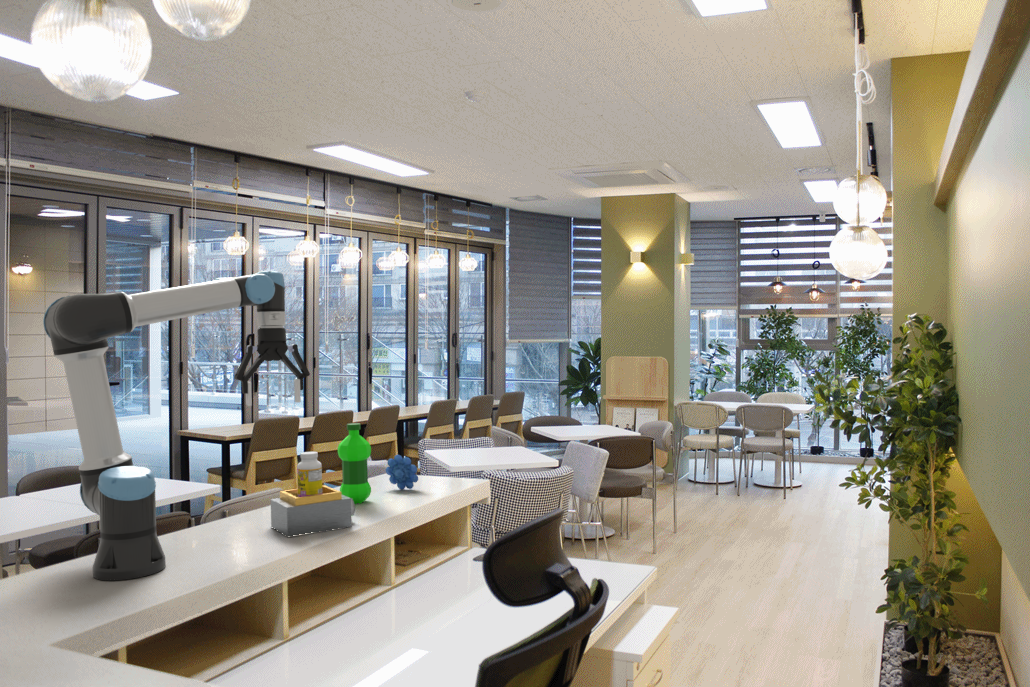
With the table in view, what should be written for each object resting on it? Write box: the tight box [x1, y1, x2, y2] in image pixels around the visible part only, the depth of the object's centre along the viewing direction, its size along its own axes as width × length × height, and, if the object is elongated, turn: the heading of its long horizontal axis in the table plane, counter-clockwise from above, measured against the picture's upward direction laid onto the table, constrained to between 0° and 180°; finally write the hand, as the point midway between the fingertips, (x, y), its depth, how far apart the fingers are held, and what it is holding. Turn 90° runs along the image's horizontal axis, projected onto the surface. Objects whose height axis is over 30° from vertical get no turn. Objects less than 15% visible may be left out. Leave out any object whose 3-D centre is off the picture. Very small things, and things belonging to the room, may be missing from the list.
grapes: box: [385, 454, 419, 491], centre depth 271 cm, size 12×7×12 cm, turn 78°
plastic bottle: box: [337, 422, 372, 505], centre depth 253 cm, size 10×10×25 cm
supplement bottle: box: [296, 451, 323, 497], centre depth 221 cm, size 7×7×13 cm
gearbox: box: [270, 484, 356, 537], centre depth 222 cm, size 21×14×10 cm, turn 124°
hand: (273, 404), depth 220 cm, fingers open, 13 cm apart
